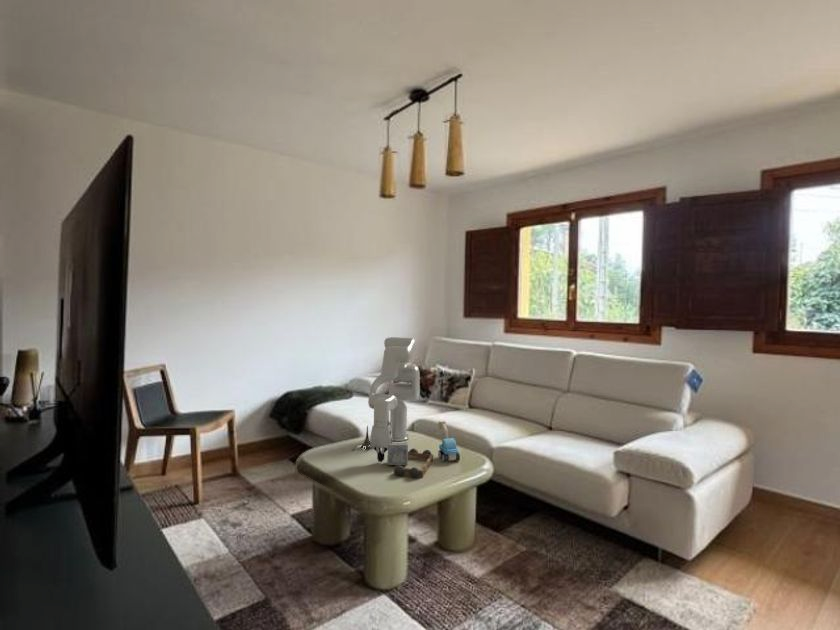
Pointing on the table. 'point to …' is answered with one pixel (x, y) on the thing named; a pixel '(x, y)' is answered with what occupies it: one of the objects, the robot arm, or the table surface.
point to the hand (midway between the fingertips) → (380, 460)
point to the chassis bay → (415, 471)
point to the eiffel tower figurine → (366, 442)
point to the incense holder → (397, 454)
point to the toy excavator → (447, 446)
